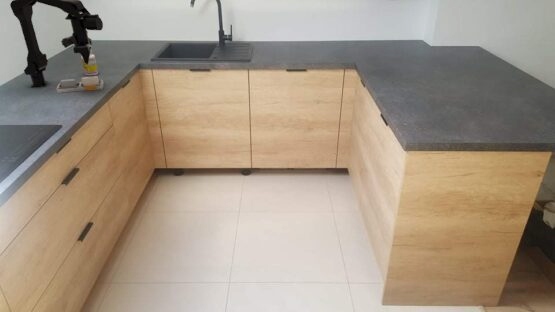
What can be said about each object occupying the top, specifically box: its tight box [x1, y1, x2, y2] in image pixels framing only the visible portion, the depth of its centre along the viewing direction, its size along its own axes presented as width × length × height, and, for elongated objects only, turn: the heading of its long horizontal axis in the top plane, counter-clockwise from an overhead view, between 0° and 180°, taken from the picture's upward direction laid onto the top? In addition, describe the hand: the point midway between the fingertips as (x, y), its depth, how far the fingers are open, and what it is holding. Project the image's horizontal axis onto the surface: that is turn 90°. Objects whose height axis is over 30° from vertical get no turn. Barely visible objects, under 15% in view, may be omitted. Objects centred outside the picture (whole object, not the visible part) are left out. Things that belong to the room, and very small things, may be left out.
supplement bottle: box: [80, 49, 99, 77], centre depth 213 cm, size 7×7×13 cm
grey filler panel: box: [60, 78, 77, 87], centre depth 194 cm, size 2×6×4 cm, turn 108°
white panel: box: [81, 75, 100, 86], centre depth 196 cm, size 2×7×5 cm, turn 108°
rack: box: [56, 79, 104, 94], centre depth 195 cm, size 8×20×2 cm, turn 108°
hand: (87, 63), depth 192 cm, fingers closed
